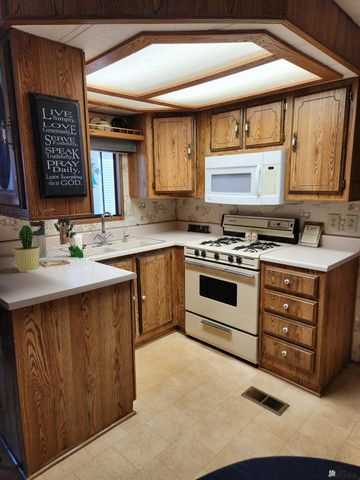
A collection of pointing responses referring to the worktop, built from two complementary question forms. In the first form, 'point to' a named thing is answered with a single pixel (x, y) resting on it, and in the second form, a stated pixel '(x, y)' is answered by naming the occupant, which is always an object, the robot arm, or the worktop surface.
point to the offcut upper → (53, 262)
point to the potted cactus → (26, 251)
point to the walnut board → (63, 236)
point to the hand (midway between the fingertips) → (64, 237)
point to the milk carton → (76, 245)
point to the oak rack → (55, 264)
